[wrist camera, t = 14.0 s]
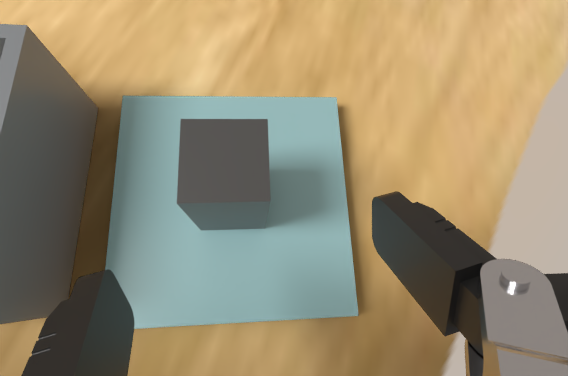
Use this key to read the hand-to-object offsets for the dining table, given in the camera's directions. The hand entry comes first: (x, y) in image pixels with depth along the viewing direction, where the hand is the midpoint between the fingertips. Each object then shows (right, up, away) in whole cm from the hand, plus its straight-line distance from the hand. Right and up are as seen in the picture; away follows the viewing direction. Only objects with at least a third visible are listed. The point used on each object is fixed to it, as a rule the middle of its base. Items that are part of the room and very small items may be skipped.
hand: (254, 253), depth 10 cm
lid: (-2, +1, +12) cm, 13 cm away
